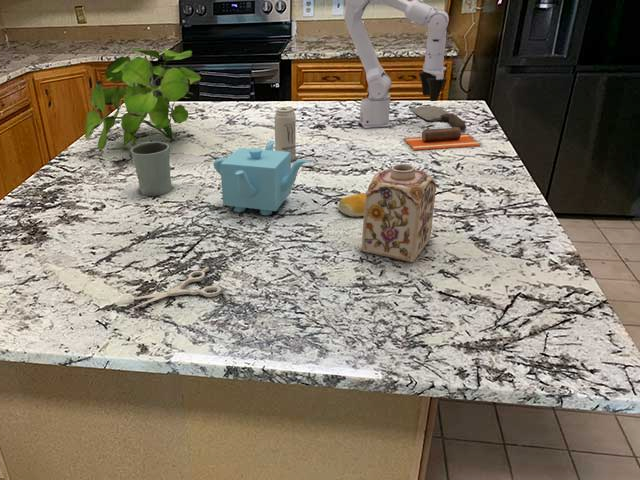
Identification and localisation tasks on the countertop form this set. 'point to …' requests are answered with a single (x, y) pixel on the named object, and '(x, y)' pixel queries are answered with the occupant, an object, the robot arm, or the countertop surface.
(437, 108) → the cleaver
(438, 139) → the rolling pin
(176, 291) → the scissors
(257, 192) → the teakettle
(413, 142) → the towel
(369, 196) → the decorative jar
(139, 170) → the grey cup
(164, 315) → the countertop surface
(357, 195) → the bread roll
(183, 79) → the indoor plant
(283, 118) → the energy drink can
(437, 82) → the robot arm
